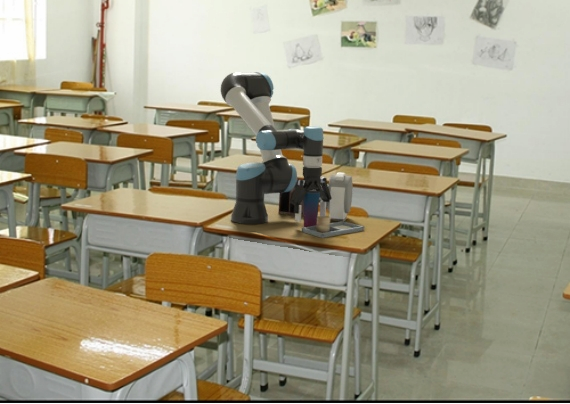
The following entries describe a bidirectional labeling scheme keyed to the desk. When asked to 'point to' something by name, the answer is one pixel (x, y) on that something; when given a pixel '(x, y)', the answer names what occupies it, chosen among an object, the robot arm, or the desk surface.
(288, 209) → the letter holder
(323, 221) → the beech sleeve
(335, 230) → the gray divided tray
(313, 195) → the cup
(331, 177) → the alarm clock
